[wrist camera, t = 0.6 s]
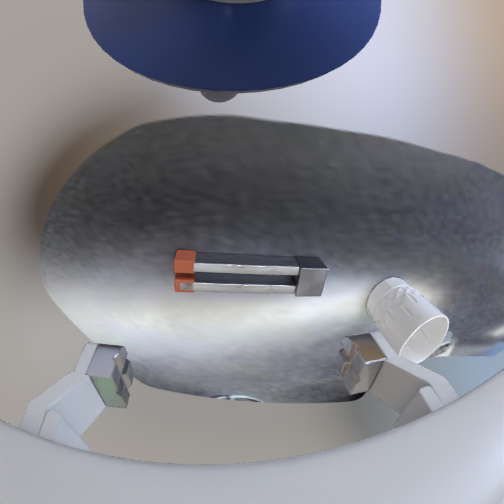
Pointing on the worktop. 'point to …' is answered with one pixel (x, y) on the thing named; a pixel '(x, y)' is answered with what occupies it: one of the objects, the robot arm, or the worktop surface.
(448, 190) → the worktop surface
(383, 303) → the white cup
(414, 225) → the worktop surface
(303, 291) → the tongs
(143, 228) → the worktop surface
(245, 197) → the worktop surface
